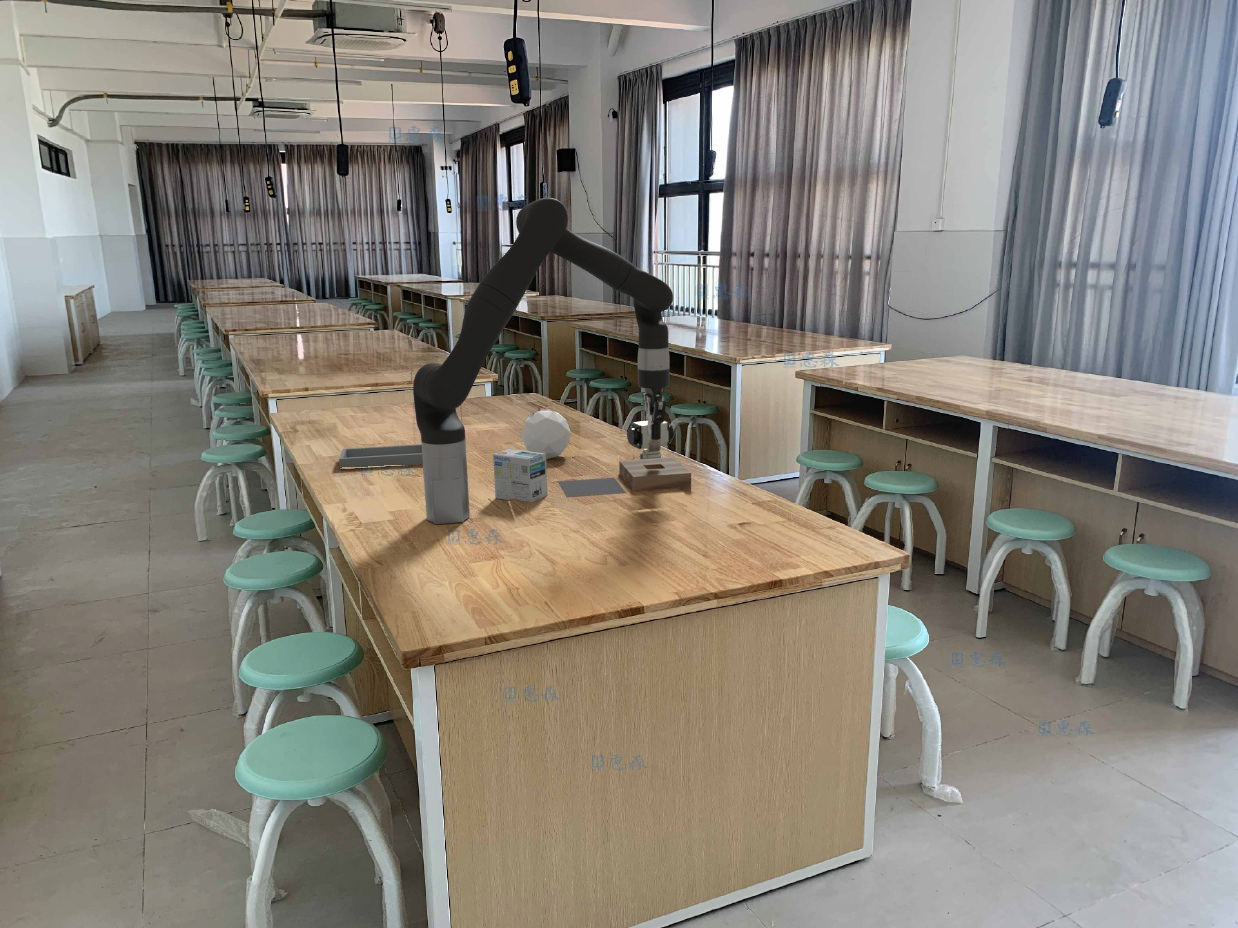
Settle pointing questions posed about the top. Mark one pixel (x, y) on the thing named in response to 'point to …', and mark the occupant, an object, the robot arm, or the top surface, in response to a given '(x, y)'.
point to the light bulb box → (520, 475)
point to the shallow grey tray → (381, 456)
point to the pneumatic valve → (640, 438)
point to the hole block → (655, 474)
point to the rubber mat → (591, 487)
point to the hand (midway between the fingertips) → (654, 437)
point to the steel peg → (652, 444)
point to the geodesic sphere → (546, 433)
